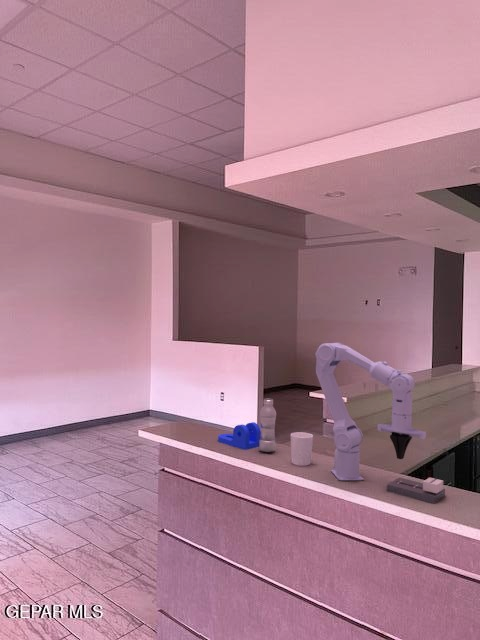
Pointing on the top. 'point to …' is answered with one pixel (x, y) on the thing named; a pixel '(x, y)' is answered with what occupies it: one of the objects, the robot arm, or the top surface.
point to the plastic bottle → (267, 427)
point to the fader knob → (433, 485)
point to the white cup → (301, 448)
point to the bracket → (242, 436)
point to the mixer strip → (414, 490)
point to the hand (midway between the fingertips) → (400, 458)
